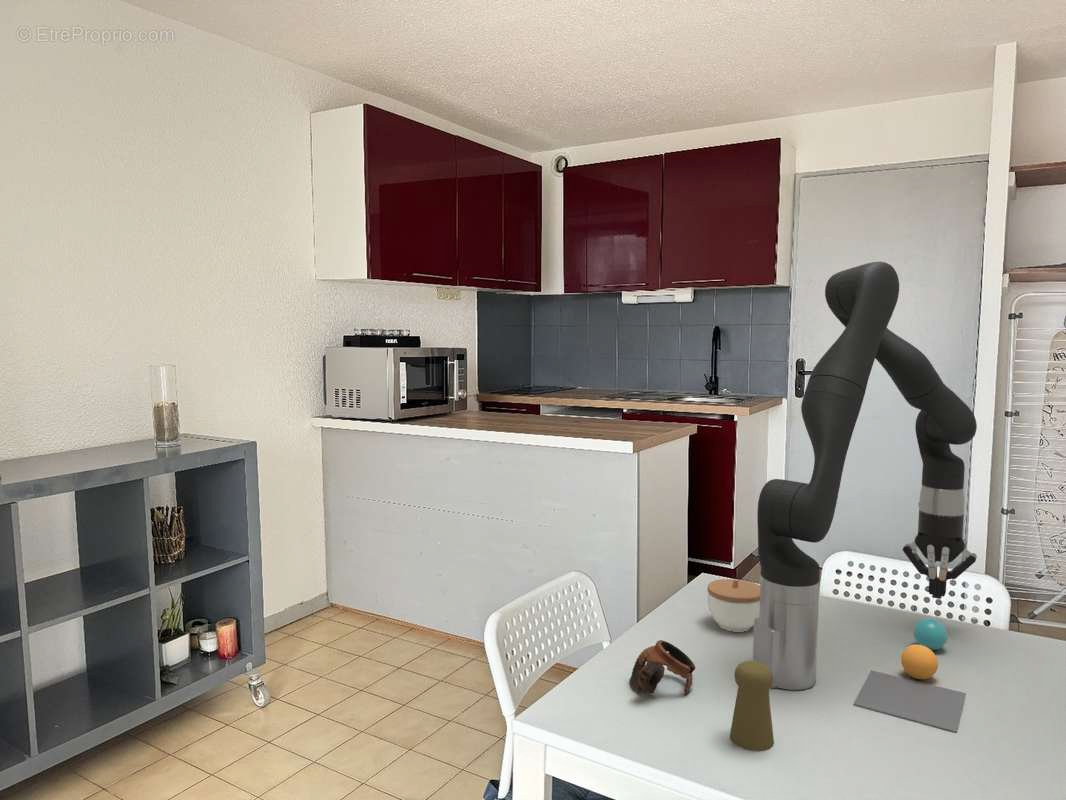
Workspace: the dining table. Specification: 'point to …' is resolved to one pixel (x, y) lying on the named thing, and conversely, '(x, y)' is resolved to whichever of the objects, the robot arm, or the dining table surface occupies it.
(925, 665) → the orange ball
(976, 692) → the dining table surface
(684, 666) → the brown smartwatch
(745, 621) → the lidded jar
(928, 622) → the teal cue ball
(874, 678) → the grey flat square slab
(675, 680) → the dining table surface
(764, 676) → the olive pepper mill
